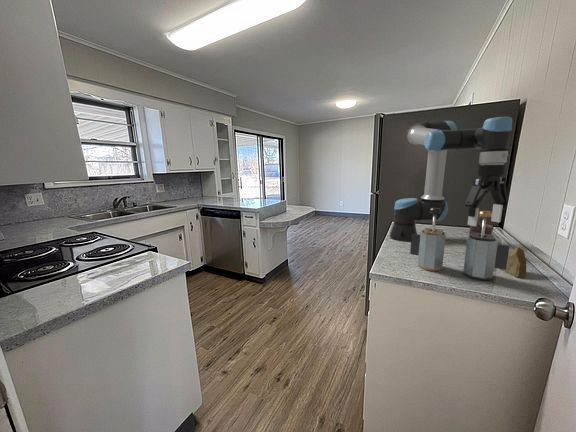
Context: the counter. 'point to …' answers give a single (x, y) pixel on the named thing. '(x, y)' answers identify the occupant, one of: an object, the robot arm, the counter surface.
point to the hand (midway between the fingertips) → (484, 223)
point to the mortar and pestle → (480, 228)
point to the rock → (516, 263)
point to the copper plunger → (434, 216)
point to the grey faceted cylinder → (429, 249)
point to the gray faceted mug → (484, 256)
